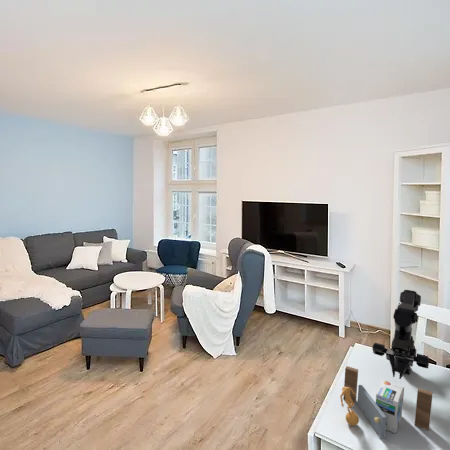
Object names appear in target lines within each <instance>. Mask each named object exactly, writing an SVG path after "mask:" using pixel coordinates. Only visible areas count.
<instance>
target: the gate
mask: <svg viewBox="0 0 450 450" xmlns="http://www.w3.org/2000/svg"><path fill="white" fill-rule="evenodd" d="M356 403H357V405H358V406H359V409H361V411H362V412H363V414H364V415H365V416H366V418H367V420H368V421H369V423H370V424H371V425H372V427H373V428H374V430H375V432H376V433H377V434H378V436H379V438H380V439H385V438H386V429H385V428H386V416H385V415H384V413H383V412H382V411H381V409H380V408H379V407H378V405H377V404H376V400H374V399H373V397H372V396H371V395H370V393H369V392H368V390H367V389H366V388H365V387H364V385H362V384H358V386H357V400H356Z"/></svg>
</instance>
